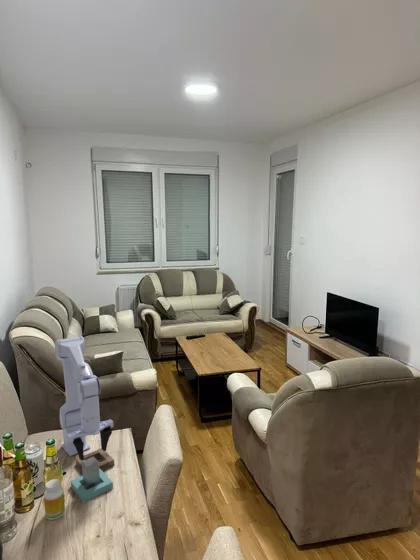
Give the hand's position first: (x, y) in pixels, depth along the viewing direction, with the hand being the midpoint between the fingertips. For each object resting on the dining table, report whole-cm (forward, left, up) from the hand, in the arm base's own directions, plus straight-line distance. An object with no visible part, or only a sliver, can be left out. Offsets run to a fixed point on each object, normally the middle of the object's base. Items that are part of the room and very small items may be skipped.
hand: (92, 454), depth 124 cm
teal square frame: (+1, -2, -10) cm, 10 cm away
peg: (+1, -2, -10) cm, 10 cm away
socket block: (-10, +4, -10) cm, 15 cm away
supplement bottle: (+5, -15, -11) cm, 19 cm away
